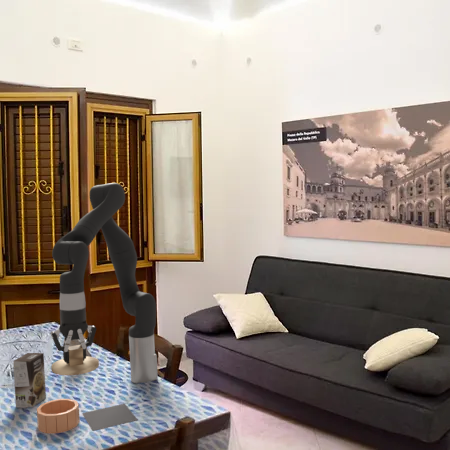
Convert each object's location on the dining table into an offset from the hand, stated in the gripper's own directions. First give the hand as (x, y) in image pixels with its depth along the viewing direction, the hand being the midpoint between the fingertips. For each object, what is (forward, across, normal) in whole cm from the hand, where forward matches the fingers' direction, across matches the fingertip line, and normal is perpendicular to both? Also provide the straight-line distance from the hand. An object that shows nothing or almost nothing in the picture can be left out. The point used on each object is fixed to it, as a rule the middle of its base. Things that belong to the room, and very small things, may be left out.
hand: (74, 361), depth 163 cm
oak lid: (+2, 0, 0) cm, 2 cm away
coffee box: (+20, +10, -25) cm, 33 cm away
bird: (+20, -12, -50) cm, 55 cm away
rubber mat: (+20, -10, +1) cm, 22 cm away
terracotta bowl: (+20, +5, -2) cm, 21 cm away
